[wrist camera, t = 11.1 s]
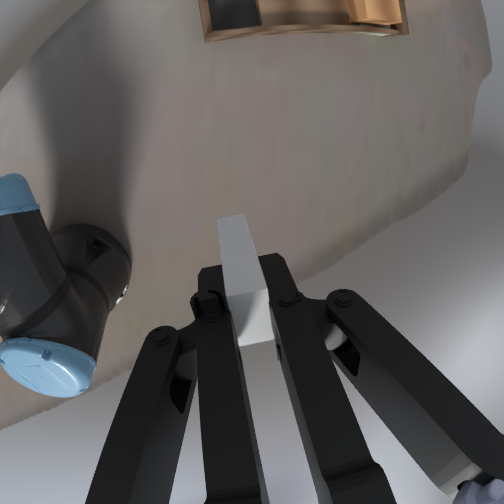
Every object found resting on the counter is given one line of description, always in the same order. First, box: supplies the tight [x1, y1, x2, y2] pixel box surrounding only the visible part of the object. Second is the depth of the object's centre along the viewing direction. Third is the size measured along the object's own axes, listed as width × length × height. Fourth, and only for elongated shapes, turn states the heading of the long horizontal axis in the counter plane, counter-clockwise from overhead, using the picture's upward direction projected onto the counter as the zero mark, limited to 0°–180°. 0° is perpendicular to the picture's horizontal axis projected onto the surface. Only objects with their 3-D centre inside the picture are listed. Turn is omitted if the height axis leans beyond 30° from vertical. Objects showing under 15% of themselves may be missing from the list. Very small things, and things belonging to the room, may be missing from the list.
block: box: [346, 0, 402, 26], centre depth 27 cm, size 5×5×5 cm
